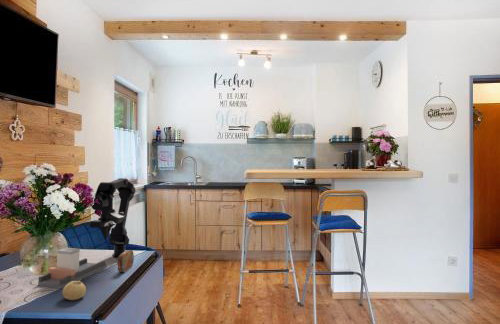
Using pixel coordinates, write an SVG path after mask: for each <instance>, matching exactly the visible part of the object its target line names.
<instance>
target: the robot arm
mask: <svg viewBox="0 0 500 324" xmlns="http://www.w3.org/2000/svg"><path fill="white" fill-rule="evenodd" d="M117 191H118V196H119V200H120V202H119V208H118V212H116V210H115V209H114V206H113V205H114V198H115V195H114V194H115V193H116V192H117ZM135 194H136V188H135V185H134V184H133V183H132V182H131V181H129V179H127V178H124V177H123V178H117V179H115V180H112V181H110V182H108V181H106V182H103V181H101V182H100V183H99V184H98V186H97V188H96V191H95V194H94V198H93V199H94V201H95V200H96V199H98V202H99V203H100V204H99V203H94V205H93V206H92V207H91V208H92V210H94V211H98V210H101V211H102V214H100V215H99V217H98V219H94V220H90V222H89V223H88V228H95V229H99V231H100V232H101V234H102V236H103V238H104V239H105V240H107V239H108V238H109V245H111V246H112V245H113V253H112V257H113V258H118V257H119V255H121V254H122V253H123V252H125V251H126V246H128V245H130V238H129V236H128V231H127V229H126V222H127V217H128V212H129V206H130V202H131V201H132V200H133V199H134V197H135V196H134V195H135Z"/></svg>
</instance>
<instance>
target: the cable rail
mask: <svg viewBox="0 0 500 324" xmlns="http://www.w3.org/2000/svg"><path fill="white" fill-rule="evenodd" d="M106 263H107V261H106V259H104V260H101V261H99V262H97V263H95V262H88V258H86V257H85V258H83V259H79V271H78V272H76V273H75V270H73V269H64V268H57V267H54V266H51V267H49V268H48V271H47V272H48V273H45V274H43V275H40V276H38V282H37V285H38V286H41V287H48V288H54V289H62V290H63V289H64V287H65V286H66V285H67V284H68V283H70V282H72V281H81V280H83V279H86V278H88V277H90V276H92V275H94V274H97V273H98V272H101V271H102V270H104V269H106V268H107V264H106ZM80 279H81V280H80Z"/></svg>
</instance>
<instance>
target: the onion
mask: <svg viewBox="0 0 500 324" xmlns="http://www.w3.org/2000/svg"><path fill="white" fill-rule="evenodd" d="M81 280H82V279H80V280H79V281H72V282H70V283H68V284H67V285H66V286H65V287H64V288H63V289H62V292H61V294H62V297H63V298H64V299H65V300H66V301H77V300H80V299H81V298H83V297H84V296H85V295H86V292H87V287H86V285H85V284H84V283H83V282H82V281H81Z"/></svg>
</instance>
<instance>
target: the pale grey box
mask: <svg viewBox="0 0 500 324" xmlns="http://www.w3.org/2000/svg"><path fill="white" fill-rule="evenodd" d="M80 251H81V250H80V248H76V247H75V248H74V247H63V248H61V249H57V250H56V253H57V254H56V256H57V260H56V265H57V267H56V268H64V269H73V270H75V273H76V272H78V271H79V261H80Z"/></svg>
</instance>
